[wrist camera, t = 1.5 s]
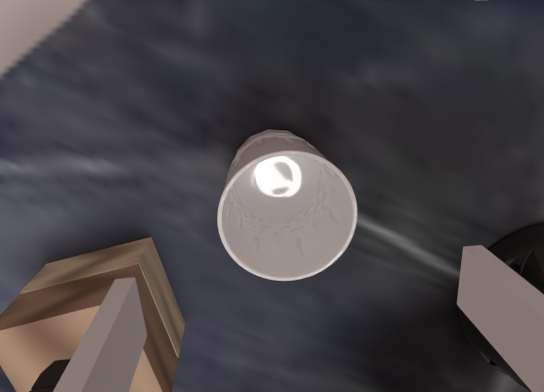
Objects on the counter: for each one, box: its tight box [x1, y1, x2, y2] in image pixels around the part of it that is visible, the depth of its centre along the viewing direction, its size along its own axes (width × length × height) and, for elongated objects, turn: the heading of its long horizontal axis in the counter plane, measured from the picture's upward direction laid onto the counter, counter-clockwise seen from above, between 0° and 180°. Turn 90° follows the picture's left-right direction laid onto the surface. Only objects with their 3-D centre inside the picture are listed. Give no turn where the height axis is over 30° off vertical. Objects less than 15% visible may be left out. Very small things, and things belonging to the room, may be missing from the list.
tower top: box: [0, 264, 178, 392], centre depth 28 cm, size 9×9×4 cm
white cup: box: [217, 129, 357, 281], centre depth 27 cm, size 8×8×10 cm
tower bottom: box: [20, 237, 185, 357], centre depth 32 cm, size 9×9×4 cm
